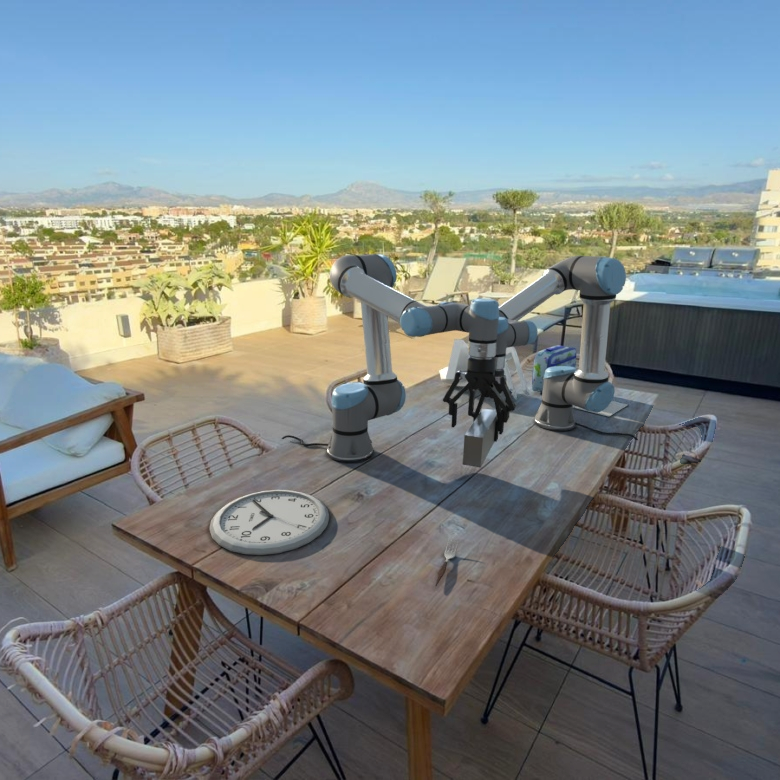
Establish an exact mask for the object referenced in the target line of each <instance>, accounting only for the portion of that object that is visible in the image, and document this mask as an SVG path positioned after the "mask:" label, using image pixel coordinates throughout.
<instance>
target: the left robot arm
mask: <svg viewBox="0 0 780 780" xmlns="http://www.w3.org/2000/svg"><path fill="white" fill-rule="evenodd" d="M397 277H398V275H397V269H396V267H395V264H394V263H393V261H392V260H391V259H390V258H389V257H388V256H386V255H385V254H377V253H371V254H346V255H342V256H340V257H339V258H337V259H336V260H335V261H334V262H333V263H332V265H331V267H330V270H329V280H330V283H331V285H332V287H333V288H334V289H335V290H336V291H337V292H338V293H339V294H341V295H343V296H344V297H346V298H349V299H352V298H354V299H356V300H357V301H359V302H360V310H361V321H362V331H363V344H364V354H365V365H366V375H365V376H363V377H362V380H363V382H359V381H355V382H345V383H343V384H339V385H338V386H337V387H335V388H334V389H333V391H332V393H331V394H332V395H331V402H330V403H331V404H330V405H331V414H332V415H331V416H332V418H331V423H332V434H331V436H330V439H329V442H328V443H322V442H311V443H304V440H303V439H302V438H300V437H297V436H294V435H290V434H288V435H284V436H283V437H281V440H284V439H287V438H290V439H294V440H297V441H299V442H300V444H301V445H302V446H303V447H312V446H320V447H321V446H323V447H327V450H326V451H327V453H326V454H327V456H328V457H329V458H330V459H331V460H334V461H335V462H340V463H359V462H363V461H366V460H368V459H369V458H371V457H372V456H373V454H374V446H373V442H372V439H371V437H370V434H369V429H368V428H369V424H368V423H369V421H371V420H375V419H379V418H382V417H385V416H390V415H393V414H395V413H398V412H399V411H400V410H401V409H402V408H403V407H404V405H405V403H406V396H407V395H406V388H405V386H403V382H402V381H400V380H399V379H398V375H397V374H396V373H395V372H393V365H392V364H393V363H392V351H391V340H390V339H391V338H390V328H389V327H390V326H389V319H391V320H393V321H395V322H397V323H398V324H399V325H400V328H401V330H402V331H403V333H404V334H405V335H406V336H408V337H410V338H415V337H416V338H417V337H418V338H421V337H426V336H431V335H435V334H443V333H448V332H453V331H454V332H455V331H457V332H463V333H468V355H470V356H469V357H468V363H467V372H466V373H464V372H462V371H461V370H459V371H457V372H456V374H455V379H454V381H453V383H452V384H450V387H449V388H448V390H447V392H446V393H445V395H444V396H443V398H442V402H443V403H447V404H448V416H451V428H455V427H456V426H457V422H458V420H457V419H458V403H457V401H458V400H459V399H460V398H461V397H462V396H463V395H464V394H465V393H466V392H467V391H469V388H470V387H472V388H473V389H474V390H476V391H477V390H478V391H479V390H483V391H485V390H488V392H489V393H491V395H492V396H493V397H494V399H495V400H496V401H497V403H498V404H499V406H500V407H501V409H502V411H501V413H500V426H499V433H498V435H500V436H501V435H503V433H504V428H505V427H504V425H505V424H507V422H508V421H509V419H508V415H509V416H510V413H509V411H510V412H514V411H515V409H516V408H517V405H516V403H515V400H514V397H513V395H512V394H511V393H510V390H509V387H508V384H507V380H506V376H505V374H504V375H502V376H495V361H496V359H495V358H494V357H495V356H496V347H497V330H498V321H499V307H500V303H499V301H497V300H496V299H494V298H493V299H492V298H474V299H472V300H471V301H470V304H465V303H458V302H455V301H442V302H440V303H439V304H436V305H425V304H423V303H420V302H419V301H417V300H415V299H413V298H411V297H409V296H407V295H405V294H403V292H402V293H401V292H399V291H398V290H396V289H394V287H395V284H396V283H397ZM463 377H465V378H466V380H467V381H468V383H466V384H465V385H464V386H463V387H462V389H460V390H459V392H457V393H456V394H455V395H454V396H452V395H453V393H454V392H455V389H456V388H457V386H458V385H459V384H460V383H459V381H460V380H461V379H463ZM495 380H496V381H497V382H498V384H500V385H501V389H502V393H503V395H504V398H506V400H507V403H508V405H509V406H508V405H507V403H506V402H505V399H504V398H503V396H502V395H501V393H500V394H499V392H498V391H497V390H496V388H495V386H494V385H493V383H494V382H495ZM458 383H459V384H458ZM451 396H452V398H451Z"/></svg>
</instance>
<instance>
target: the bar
mask: <svg viewBox="0 0 780 780" xmlns="http://www.w3.org/2000/svg"><path fill="white" fill-rule="evenodd" d="M497 419H498V418H497V413H496V409H488V408H481V410H480V413H479V415H478V417H477V418H476V419H475V421H474V422H473V421H472V424H471V425H470V426H469V428H468V429H467V430H466V432H465V433H464V435H463V436H464V438H463V454H462V465H464V466H469V467H475V468H482V466H483V464H484V462H485V460H486V459H487V457H488V455H489V453H490V451H491V449H492V448H493V445H495V444H494V443H495V442H494V436H495V423H496V421H497Z"/></svg>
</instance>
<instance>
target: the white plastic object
mask: <svg viewBox="0 0 780 780" xmlns="http://www.w3.org/2000/svg"><path fill="white" fill-rule="evenodd" d="M468 346H469V344H468V343H466V342H465V340H464V339H463V338H460V339H458V338H454V340H453V344H452V349H451V353H450V357H449V362H448V366H446V367H444V368H442V369H440V370H439V371H438V372H439V376H440V381H442V383H443V384H444V385H445V386H449V385H450V386H451V385H452V383H453V381H454V379H455V374H456V372H457V371H459V370H461V371H462V372H464V373H466V372H467V363H468V357H469V356H470V355H468ZM510 360H513V363H514V366H515V369H516V372H517V376H518V380H519V382H520V385H521V389H522V391H523V393H524V395H525V396H526V397H528V396H531V395H530V390H529V388H528V387H529V386H528V384H527V381H526V378H525V375H524V371H523V369H522V368H523V367H522V366H521V362H520V359H519V355H518V352H517V349H516V347H508V348H506V358H505V368H503V369H504V375H505V376H506V383H507V386H508V388H509V389H512V390H513V392H512V394H511V395H512V397H513V398H514V399H515V400H517V392H516V391H517V390H516V388H515V385H514V381H513V378H512V375H511V371H510V369H509V365H508V361H510ZM459 384H468V381H467V380H466V378H465V377H463V379H461V380H460V381H459V383H458V384H457V385H459Z"/></svg>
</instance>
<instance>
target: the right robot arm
mask: <svg viewBox="0 0 780 780" xmlns="http://www.w3.org/2000/svg"><path fill="white" fill-rule="evenodd" d="M626 280H627V274H626V269H625V266H624V264H623V263H622V262H621V261H620V260H619V259H617V258H614V257H608V256H593V255H592V256H590V255H574V256H571V257H567V258H565V259H563V260H561V261H559V262H557V263H554V264H552V266H550V267H548V268H547V269H546V270H544V271H543V272H542V274H541V277H539V278H538V279H536V280H535V281H533V282H532V283H531V284H530V285H528V286H526V287H525V288H524V289H522V290H520V292H518V293H516V294H515V295H514V296H512V297H511V298H509V299H508V300H507V301H505V302H503V303H502V304H501V305H499V321H498V330H497V347H496V356H495V357H494V358H495V359H496V361H495V376H502V375H505V373H504V369H503V368H505V358H506V348H508V347H514V348H516V347H522V346H523V347H524V346H528V345H532V344H534V343H535V341H536V340H537V338H538V333H539V331H538V327H537V326H536V324H535V323H534V322H533V321H531V320H525V319H524V320H521V319H522V318H524V317H525V316H526V315H528V314H529V313H531V312H532V311H534V310H535V309H536V308H538V307H539V306H540V305H542V304H543V303H545V302H546V301H547V300H549V299H550V298H551V297H553V296H554V295H556V296H557V295H560V294H562V293H564V292H565V291H570V290H575V291H579V296H578V297H579V299H580V301H581V302H582V303H583V306H582V307H583V308H582V321H581V333H580V334H581V335H580V347H579V362H578V368H577V367H576V366H575V367H570V366H555V367H549V368H547V369H546V370H545V375H544V378H543V379H544V380H543V391H542V393H541V402H540V405H539V407H538V410H537V411H536V413H535V416H534V424H535V425H536V426H537V427H539V428H542V429H544V430H549V431H556V432H567V431H572V430H574V429H575V428H576V426H578V427H581V428H583V429H587V430H589V431H592V432H595V433H597V434H598V433H599V434H602V435H607V436H608V435H609V436H611V435H612V436H614V435H615V436H616V435H617V436H626V437H627V436H628V437H632V439H634V440H635V441H639V439H638V438H637V437H636V436H635V435H634V434H631V433H625V432H608V431H602V430H598V429H595V428H592V427H589V426H586V425H584V424H582V423H579V422H576V418H575V417H576V416H575V413H574V407H576V406H577V407H580V408H582V409H585V410H587V411H586V412H588V411H592V412H601V411H603V410H604V409H606V408H607V407H608V405H609V404H610V403H611V401H613V399H614V396H615V391H616V389H615V386H614V384H613V383H611V381H609V373H608V371H606V359H607V358H606V357H607V347H608V336H609V327H610V326H609V324H610V315H611V314H610V313H611V303H612V302H613V301H615V300H616V299H617V295H618V294H620V293H621V292H622V291H623V289H624V287H625V285H626ZM493 385H494V386H495V388H496V390H497V391H498V392H499V394H500V395H501V394H502V393H503V391H502V389H501V385H500V384H498V382H497V381H496V380H495V382H494V383H493ZM509 390H510V393H511V395H512V392H513V390H512V389H509ZM476 391H477V390H474V389H473V388H472V387H470V388H469V389H468V393H469V397H468V407H467V408H468V409H467V416H468V417H472V419H473V420H472V423H473V422H474V421H475V419H476V418H477V417H478V415H479V414H480V412H481V411H482V409H483V405H484V402H485V400H486V398H490V399H492V400H493V402H494V407H495V410H496V413H497V418H498V419H497V421H496V423H495V436H494V443H497V441H498V440H499V426H500V413H501V411H502V408H501V407H500V406H499V404H498V403H497V401H496V400H495V399H494V397H493V396H492V395H491V393H489V392H488V390H485V391H483V390H479V389H478V391H479V393H480V397H479V400H478V403H477V405H476V408H475V399H476ZM504 398H505V397H504ZM504 401H505V402H506V403H507V400H506V398H505V399H504ZM507 405H508V403H507ZM508 406H509V405H508ZM573 406H574V407H573ZM474 408H475V410H474ZM510 412H511V411H509V415H508V420H509V419H510ZM592 412H591V413H592Z"/></svg>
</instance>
